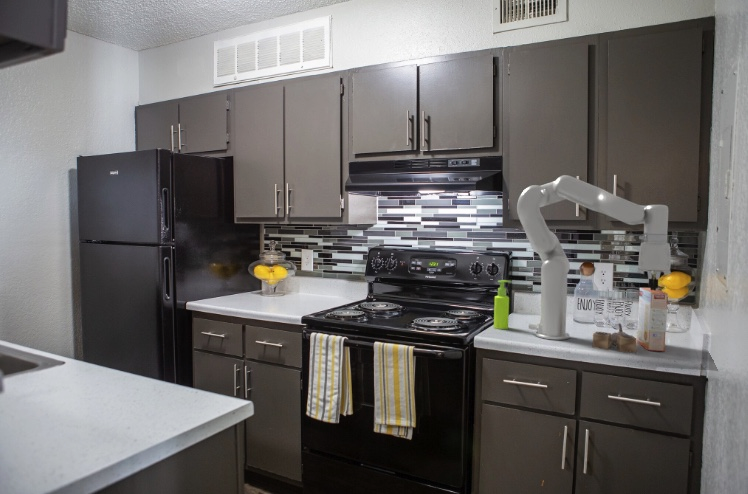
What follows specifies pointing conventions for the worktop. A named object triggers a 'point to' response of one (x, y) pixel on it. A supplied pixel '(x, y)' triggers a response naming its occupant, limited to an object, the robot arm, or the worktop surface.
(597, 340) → the marked cube
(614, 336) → the garlic bulb
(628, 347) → the marked cube
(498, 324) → the soap dispenser
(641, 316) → the cracker box
